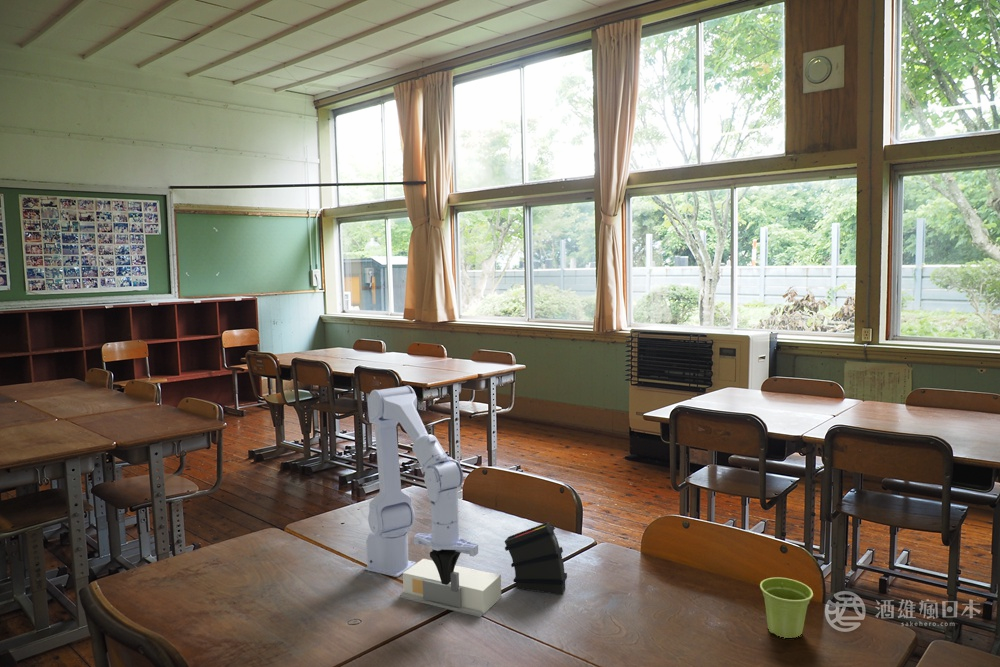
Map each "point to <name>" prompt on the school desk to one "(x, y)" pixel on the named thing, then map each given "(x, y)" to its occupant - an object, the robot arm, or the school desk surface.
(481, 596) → the camera housing
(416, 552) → the school desk surface
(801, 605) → the plant pot
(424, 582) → the side door
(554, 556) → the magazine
